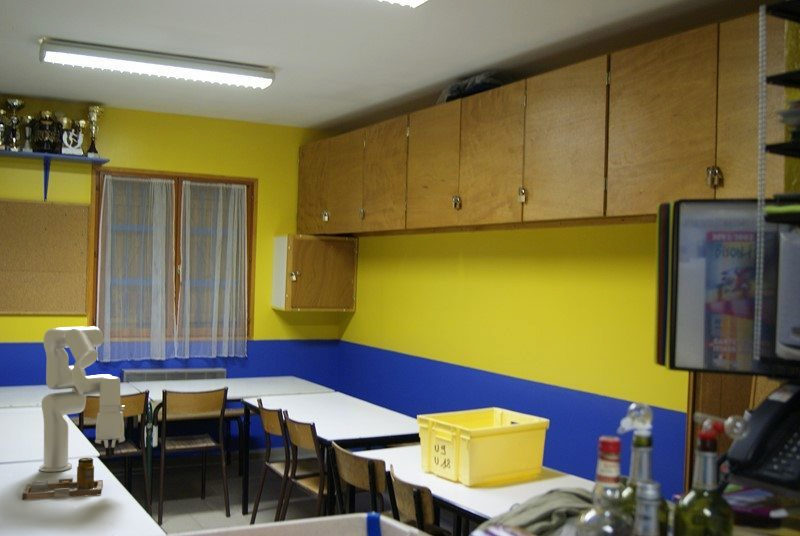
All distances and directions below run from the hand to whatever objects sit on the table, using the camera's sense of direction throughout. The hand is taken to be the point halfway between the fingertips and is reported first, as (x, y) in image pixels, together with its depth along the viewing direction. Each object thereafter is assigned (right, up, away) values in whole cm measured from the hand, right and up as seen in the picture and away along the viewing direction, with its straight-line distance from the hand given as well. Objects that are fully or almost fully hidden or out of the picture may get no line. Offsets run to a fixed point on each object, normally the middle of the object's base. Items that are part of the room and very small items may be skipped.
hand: (109, 457), depth 318 cm
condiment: (-9, -13, -2) cm, 15 cm away
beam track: (-16, -12, -4) cm, 20 cm away
